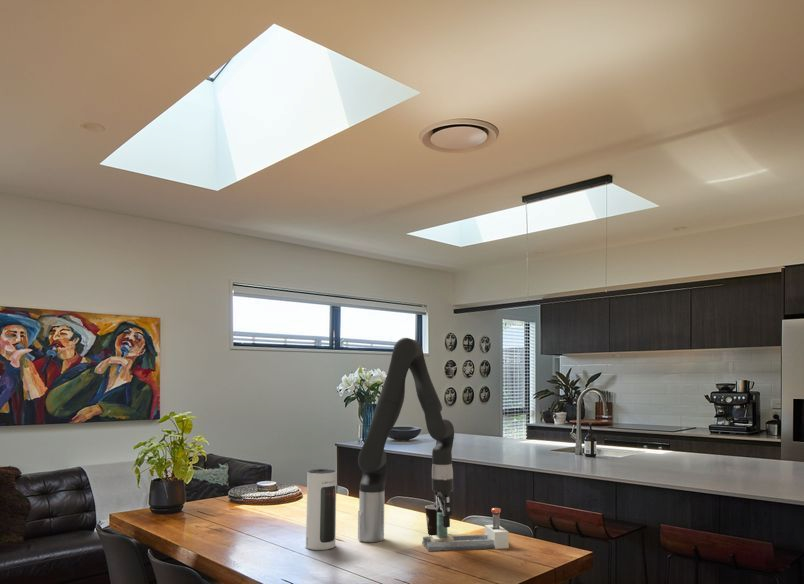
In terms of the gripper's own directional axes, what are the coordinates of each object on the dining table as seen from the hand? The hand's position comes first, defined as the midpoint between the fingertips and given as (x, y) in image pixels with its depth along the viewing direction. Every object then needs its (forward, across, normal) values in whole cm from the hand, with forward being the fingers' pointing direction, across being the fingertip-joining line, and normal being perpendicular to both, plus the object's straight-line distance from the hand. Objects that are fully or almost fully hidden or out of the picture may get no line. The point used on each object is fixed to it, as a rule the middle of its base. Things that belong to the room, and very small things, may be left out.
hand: (443, 524), depth 217 cm
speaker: (+7, -7, -42) cm, 44 cm away
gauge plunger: (+5, 0, +19) cm, 20 cm away
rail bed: (+8, 0, +7) cm, 10 cm away
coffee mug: (+8, -19, +3) cm, 21 cm away
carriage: (+6, 0, -1) cm, 6 cm away
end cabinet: (+8, 0, +19) cm, 21 cm away
